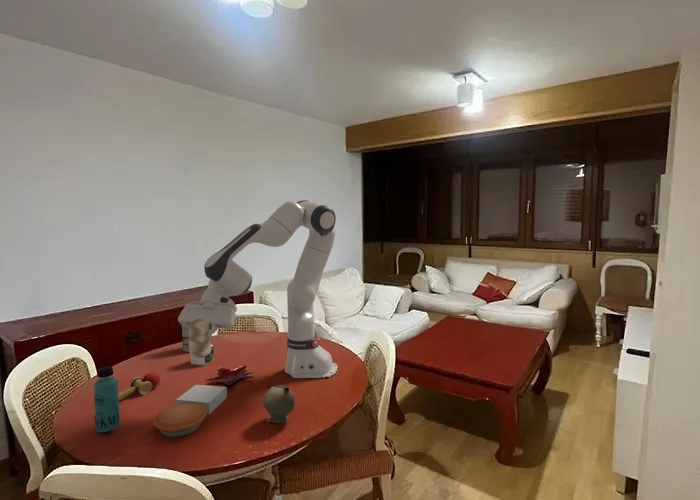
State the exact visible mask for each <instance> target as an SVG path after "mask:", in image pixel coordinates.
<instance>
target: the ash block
mask: <svg viewBox="0 0 700 500" xmlns="http://www.w3.org/2000/svg"><path fill="white" fill-rule="evenodd" d="M210 330H211V327H210V324H209V320H202V319H196V320H194V321H192V322H189V344H190V352H189V357H190V358H191V357H199V358H204V357H205V356H207V355H208V354H210V353H211V345H212V344H211V340H212V339H211V338H206V337H205V334H206V332H209V331H210Z"/></svg>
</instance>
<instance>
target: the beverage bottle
mask: <svg viewBox="0 0 700 500" xmlns="http://www.w3.org/2000/svg"><path fill="white" fill-rule="evenodd" d="M96 375H97V378H99V379H97V380H96V381H95V382H94V383H93V391H94V393H93V394H94V395H93V401H94V422H95V423H94V426H95V429H96V431H97V432H99V433H104V432H111V431H113V430H114V429H117V428H118V427H119V426H120V422H121V420H120V419H121V416H120V415H121V414H120V401H119V400H118V393H119V386H118V385H119V384H118V383H119V381H118V379H117V378H116V377H113V375H114V368H113V367H112V366H103V367H100V368H99V369H97V374H96Z"/></svg>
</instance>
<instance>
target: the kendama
mask: <svg viewBox="0 0 700 500" xmlns="http://www.w3.org/2000/svg"><path fill="white" fill-rule="evenodd" d="M160 379H161V377H160V375H159V373H156V372H154V371H151V372H148V373H146V374H145V375H144V376H143V377H140V376H135V377H133V378H132V379H131V381H130V383H129V386H130V387H129V388H126V389H124V390H123V391H120V392H118V400H119V402H120V401H122V400H123V399H125V398H126V397H129V396H130V395H132V394H133V393H134V392H135V391H137V390H138V393H139V394H140V395H142V396H144V395H148V394H149V393H150V392H151V390H153V389H155V388H156V387H158V385H159V384H160V381H161V380H160Z"/></svg>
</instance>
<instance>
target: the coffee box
mask: <svg viewBox="0 0 700 500" xmlns="http://www.w3.org/2000/svg"><path fill="white" fill-rule="evenodd" d="M181 330H182V331H181V332H182V333H181V334H182V336H181V337H182V351H183V352H188V353H190V344H189V336H188V333H189V326H183V325H181Z"/></svg>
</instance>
